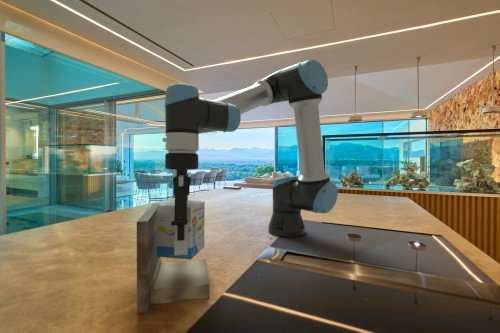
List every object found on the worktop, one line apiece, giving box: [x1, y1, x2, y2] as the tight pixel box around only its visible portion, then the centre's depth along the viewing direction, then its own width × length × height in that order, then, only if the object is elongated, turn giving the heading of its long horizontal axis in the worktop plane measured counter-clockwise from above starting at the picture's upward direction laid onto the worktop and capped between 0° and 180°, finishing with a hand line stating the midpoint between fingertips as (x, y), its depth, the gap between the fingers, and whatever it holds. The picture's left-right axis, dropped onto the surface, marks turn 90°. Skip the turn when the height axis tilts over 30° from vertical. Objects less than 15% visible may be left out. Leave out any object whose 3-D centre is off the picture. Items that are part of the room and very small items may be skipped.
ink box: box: [157, 199, 206, 260], centre depth 59 cm, size 9×8×12 cm
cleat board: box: [136, 203, 211, 316], centre depth 59 cm, size 14×20×18 cm
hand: (182, 245), depth 59 cm, fingers closed on ink box, 11 cm apart
